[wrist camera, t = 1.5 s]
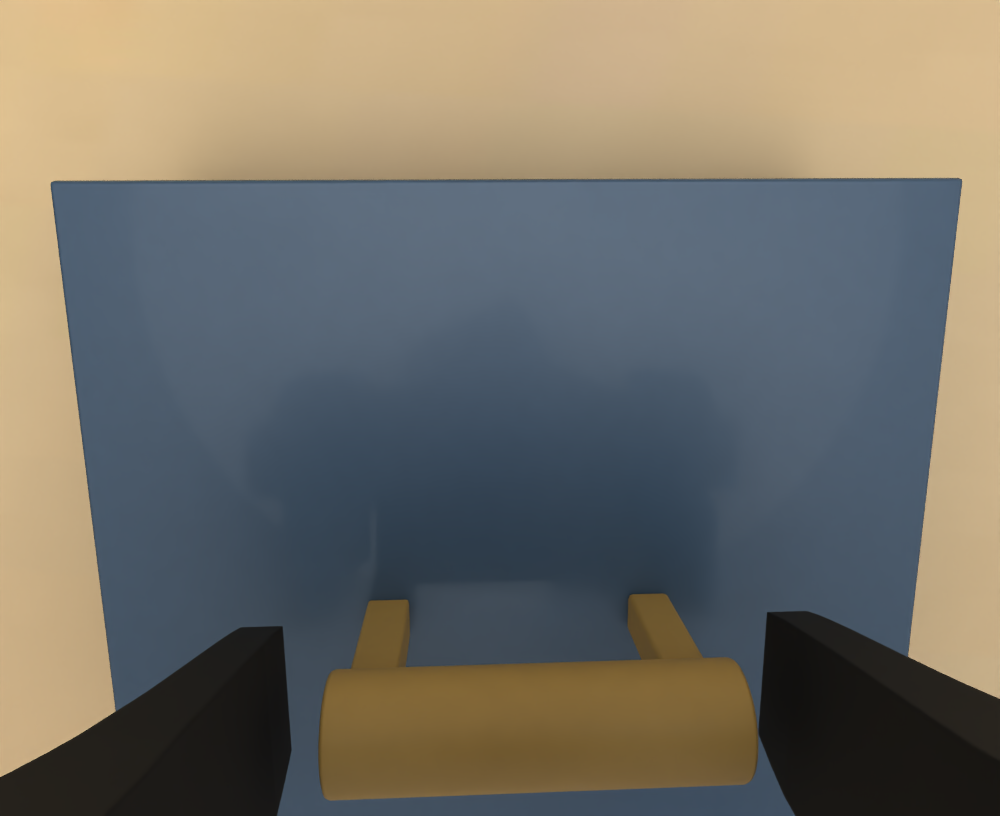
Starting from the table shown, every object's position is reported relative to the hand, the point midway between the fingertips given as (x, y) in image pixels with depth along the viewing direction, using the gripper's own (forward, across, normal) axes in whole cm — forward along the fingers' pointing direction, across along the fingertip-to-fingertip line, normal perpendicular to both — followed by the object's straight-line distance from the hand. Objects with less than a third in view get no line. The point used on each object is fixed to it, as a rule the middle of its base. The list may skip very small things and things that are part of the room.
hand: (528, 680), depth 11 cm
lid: (+3, 0, 0) cm, 3 cm away
